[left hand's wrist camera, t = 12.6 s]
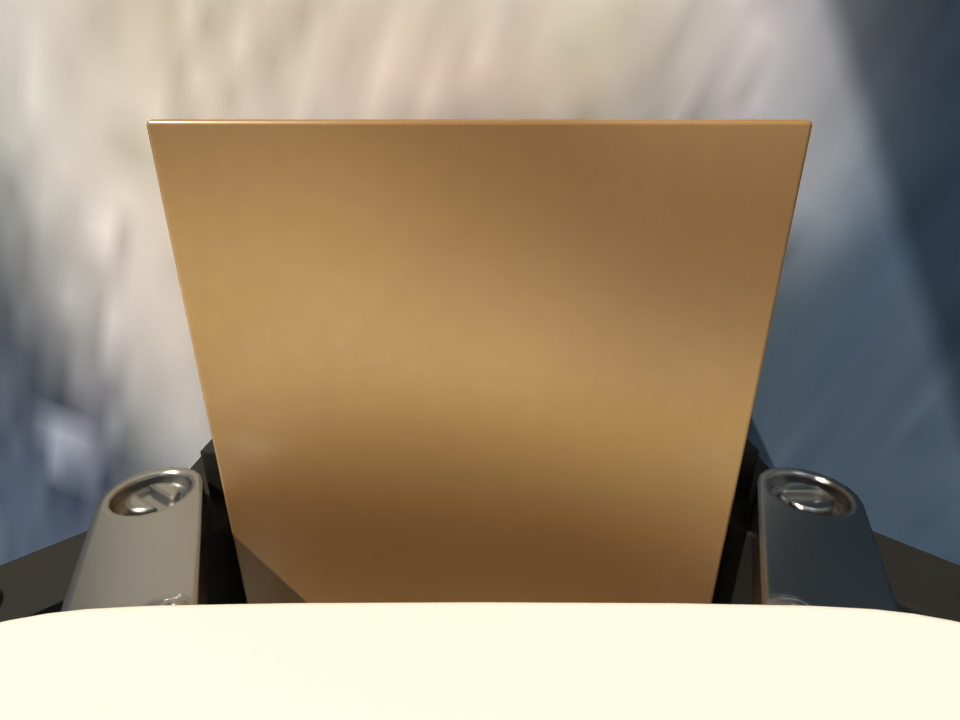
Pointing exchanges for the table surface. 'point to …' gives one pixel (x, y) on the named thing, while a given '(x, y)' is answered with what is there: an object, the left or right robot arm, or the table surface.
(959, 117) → the table surface
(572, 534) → the post
